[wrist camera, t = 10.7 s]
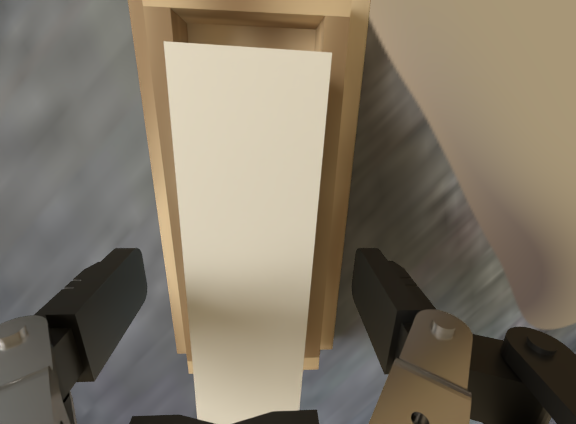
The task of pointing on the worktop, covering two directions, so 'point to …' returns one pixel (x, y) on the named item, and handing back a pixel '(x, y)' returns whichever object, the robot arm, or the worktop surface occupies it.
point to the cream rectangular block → (247, 216)
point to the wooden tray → (338, 130)
